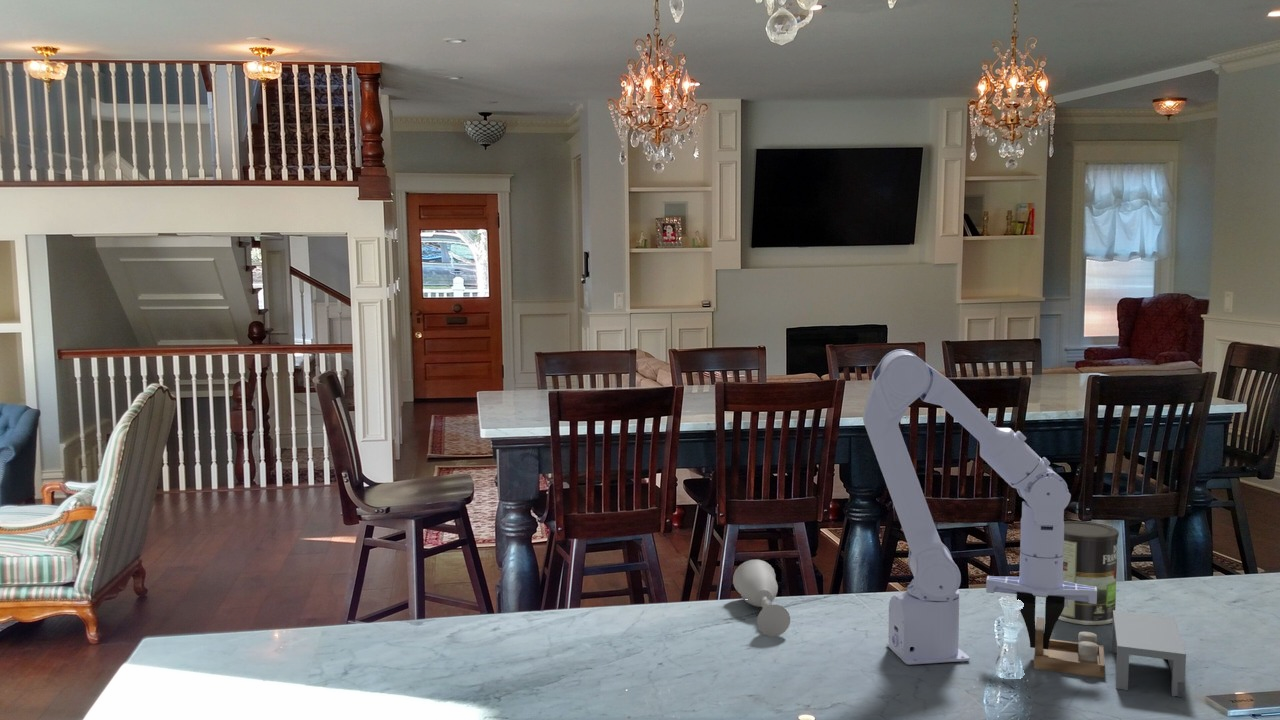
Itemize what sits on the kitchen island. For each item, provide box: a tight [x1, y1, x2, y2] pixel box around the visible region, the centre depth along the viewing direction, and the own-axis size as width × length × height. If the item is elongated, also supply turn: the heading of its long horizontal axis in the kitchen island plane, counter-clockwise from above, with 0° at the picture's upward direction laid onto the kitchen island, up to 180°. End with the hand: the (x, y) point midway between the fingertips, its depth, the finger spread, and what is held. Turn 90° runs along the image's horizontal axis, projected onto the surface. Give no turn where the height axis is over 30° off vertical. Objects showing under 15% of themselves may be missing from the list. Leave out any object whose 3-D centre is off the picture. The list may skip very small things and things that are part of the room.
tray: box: [1033, 616, 1106, 679], centre depth 144 cm, size 9×8×5 cm
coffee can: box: [1058, 520, 1120, 626], centre depth 163 cm, size 10×10×14 cm
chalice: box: [732, 559, 791, 637], centre depth 164 cm, size 7×7×18 cm
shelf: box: [1111, 609, 1187, 698], centre depth 140 cm, size 8×15×6 cm, turn 157°
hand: (1039, 646), depth 146 cm, fingers closed on tray
